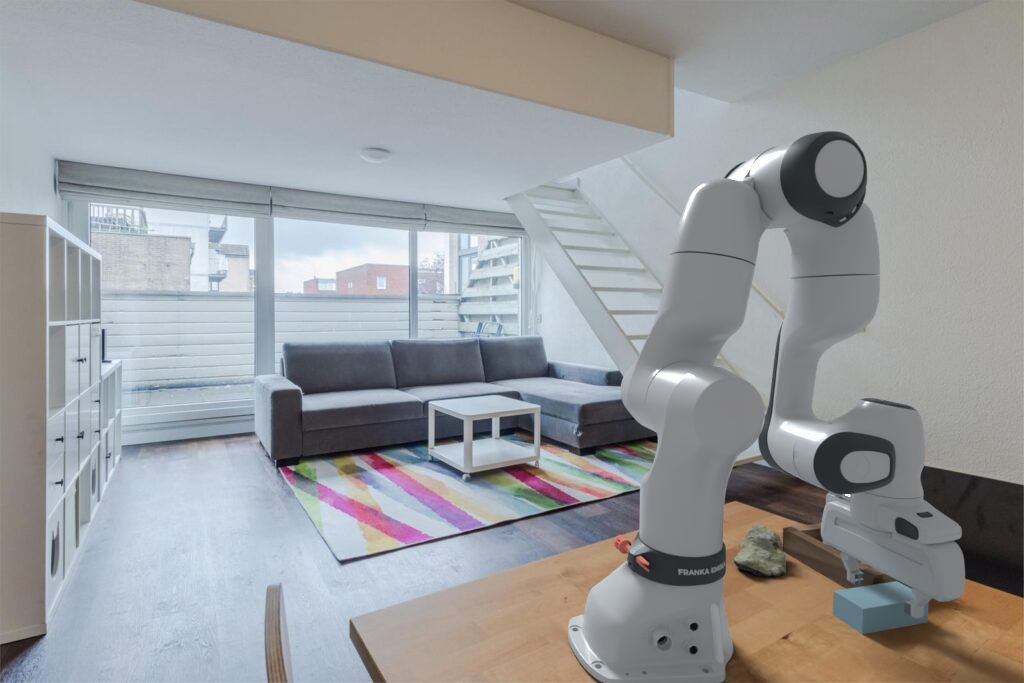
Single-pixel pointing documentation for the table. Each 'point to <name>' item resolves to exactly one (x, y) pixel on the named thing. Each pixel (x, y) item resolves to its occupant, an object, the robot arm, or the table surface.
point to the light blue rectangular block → (875, 607)
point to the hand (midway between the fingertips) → (882, 598)
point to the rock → (761, 552)
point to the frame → (826, 556)
